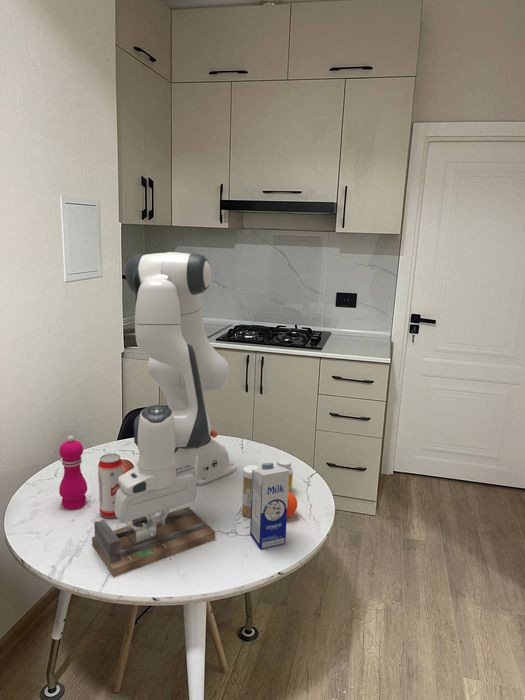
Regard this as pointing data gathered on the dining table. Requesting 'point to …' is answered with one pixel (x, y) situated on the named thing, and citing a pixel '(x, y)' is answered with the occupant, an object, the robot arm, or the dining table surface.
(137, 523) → the gauge carriage
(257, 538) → the milk carton
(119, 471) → the beer can
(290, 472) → the supplement bottle
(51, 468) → the dining table surface
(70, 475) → the pepper mill
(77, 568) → the dining table surface
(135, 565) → the gauge base
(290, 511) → the clementine
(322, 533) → the dining table surface
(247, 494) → the sprinkles bottle
